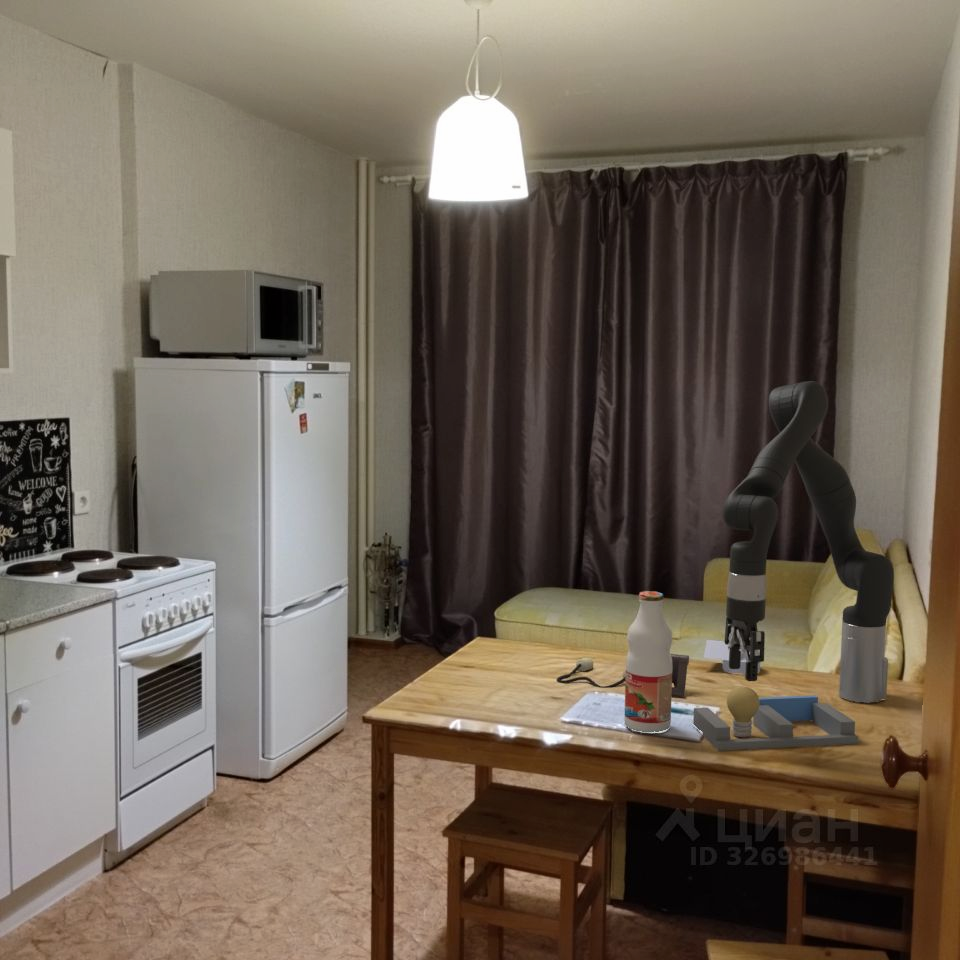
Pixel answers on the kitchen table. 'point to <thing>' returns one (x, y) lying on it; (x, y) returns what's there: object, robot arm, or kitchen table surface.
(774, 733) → the gray e-shaped frame
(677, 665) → the portable electronic device stand
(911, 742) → the kitchen table surface
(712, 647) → the wedge on round base
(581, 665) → the cable
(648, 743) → the kitchen table surface
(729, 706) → the light bulb
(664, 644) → the fruit juice
